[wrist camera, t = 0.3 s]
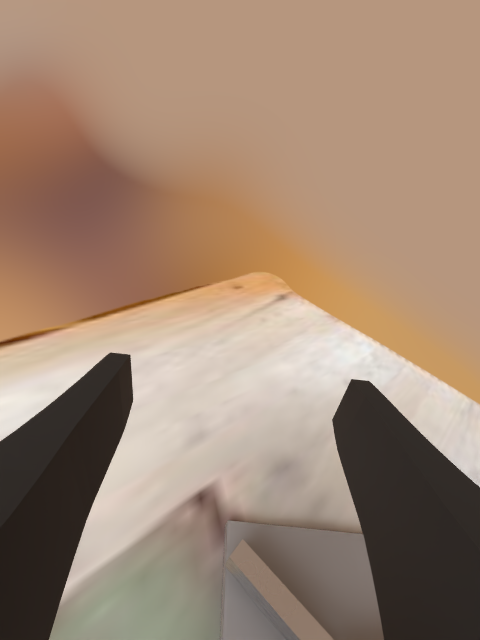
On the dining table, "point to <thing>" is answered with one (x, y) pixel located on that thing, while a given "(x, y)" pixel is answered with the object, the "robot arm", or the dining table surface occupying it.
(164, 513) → the dining table surface
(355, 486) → the robot arm
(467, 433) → the dining table surface
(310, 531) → the board
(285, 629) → the tan piece
